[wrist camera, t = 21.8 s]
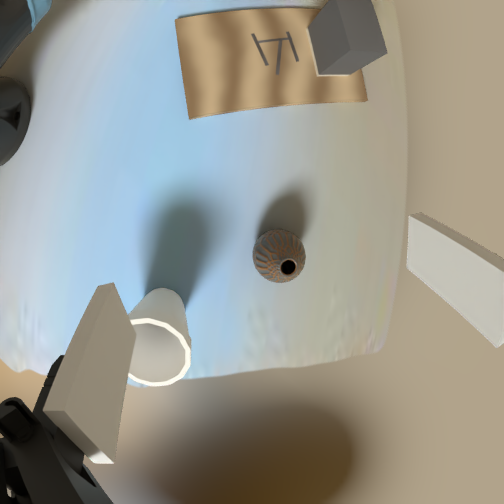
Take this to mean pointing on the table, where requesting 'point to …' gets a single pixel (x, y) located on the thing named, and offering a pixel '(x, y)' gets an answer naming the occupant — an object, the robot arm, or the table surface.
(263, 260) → the vase
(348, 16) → the block
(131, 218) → the table surface
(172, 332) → the foam cup
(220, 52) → the board
